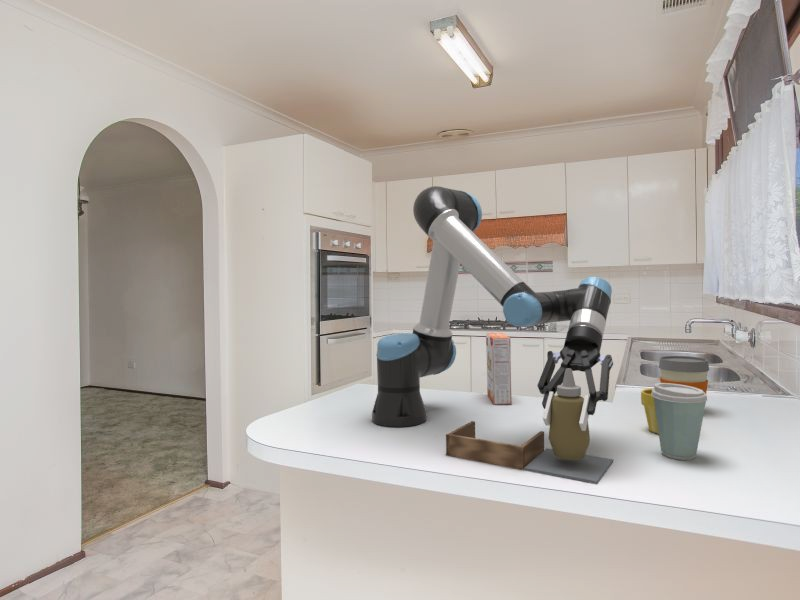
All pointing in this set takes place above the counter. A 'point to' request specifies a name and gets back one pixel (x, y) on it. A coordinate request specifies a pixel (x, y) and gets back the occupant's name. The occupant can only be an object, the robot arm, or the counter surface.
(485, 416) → the counter surface
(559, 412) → the squeeze bottle
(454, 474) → the counter surface
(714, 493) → the counter surface
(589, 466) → the slate mat
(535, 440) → the walnut nook
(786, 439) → the counter surface
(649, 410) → the plant pot
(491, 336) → the cracker box
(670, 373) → the reusable coffee cup
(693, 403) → the disposable coffee cup
